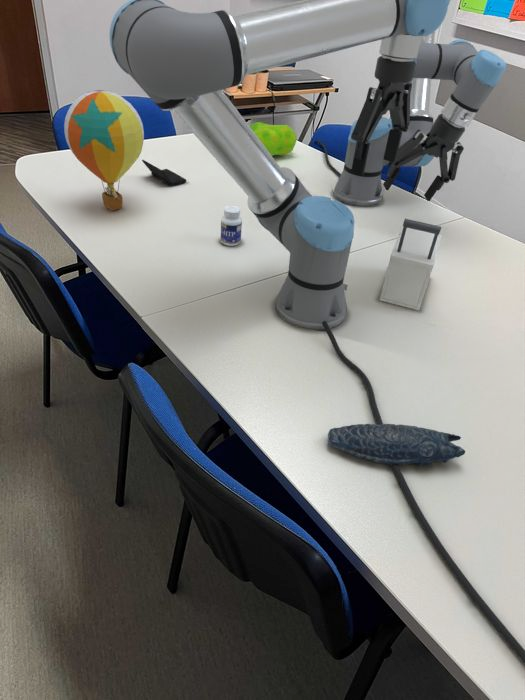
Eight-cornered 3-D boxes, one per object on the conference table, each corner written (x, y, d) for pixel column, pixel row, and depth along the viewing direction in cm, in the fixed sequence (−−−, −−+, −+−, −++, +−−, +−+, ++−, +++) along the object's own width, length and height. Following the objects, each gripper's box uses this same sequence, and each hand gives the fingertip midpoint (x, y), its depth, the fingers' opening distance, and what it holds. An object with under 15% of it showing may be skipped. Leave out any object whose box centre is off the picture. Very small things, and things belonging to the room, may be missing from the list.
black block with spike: (190, 175, 164) (173, 153, 156) (179, 193, 163) (161, 172, 155) (166, 170, 170) (147, 148, 162) (155, 188, 169) (136, 167, 161)
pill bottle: (217, 243, 133) (217, 210, 128) (225, 235, 137) (226, 203, 132) (236, 248, 132) (237, 215, 127) (243, 239, 136) (245, 207, 131)
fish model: (463, 478, 79) (473, 457, 76) (326, 461, 80) (331, 439, 77) (455, 446, 85) (464, 424, 82) (326, 429, 86) (331, 408, 83)
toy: (64, 203, 145) (44, 85, 127) (127, 189, 156) (117, 79, 137) (97, 229, 134) (80, 105, 116) (162, 213, 145) (156, 96, 126)
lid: (432, 269, 109) (444, 232, 104) (389, 259, 111) (399, 222, 106) (440, 238, 121) (451, 204, 116) (401, 229, 123) (410, 195, 118)
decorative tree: (211, 118, 187) (292, 118, 192) (211, 148, 193) (289, 147, 198) (217, 133, 173) (303, 132, 178) (217, 164, 179) (301, 163, 185)
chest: (419, 310, 116) (432, 268, 109) (379, 300, 118) (390, 258, 111) (427, 278, 128) (440, 238, 121) (391, 269, 130) (401, 230, 123)
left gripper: (410, 49, 110) (387, 151, 124) (346, 59, 95) (327, 174, 108) (442, 56, 107) (415, 160, 120) (381, 67, 91) (357, 185, 104)
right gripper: (416, 114, 120) (371, 191, 135) (498, 141, 129) (447, 210, 144) (406, 99, 125) (363, 174, 140) (486, 126, 134) (438, 194, 149)
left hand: (373, 167), depth 114 cm, fingers open, 13 cm apart
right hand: (406, 193), depth 142 cm, fingers open, 13 cm apart
